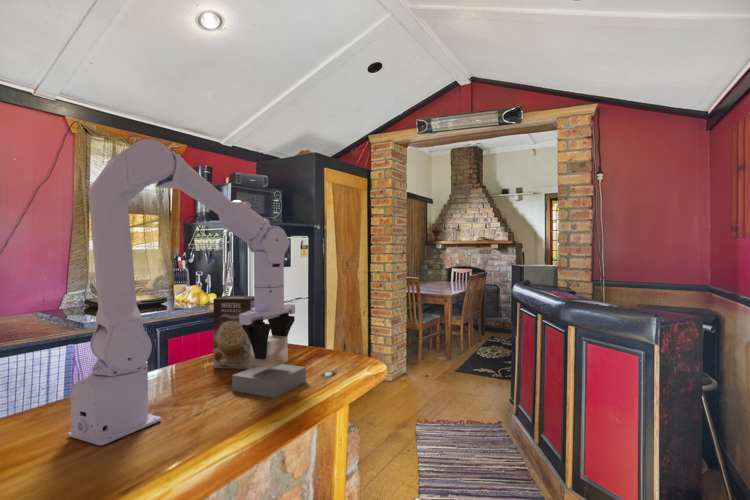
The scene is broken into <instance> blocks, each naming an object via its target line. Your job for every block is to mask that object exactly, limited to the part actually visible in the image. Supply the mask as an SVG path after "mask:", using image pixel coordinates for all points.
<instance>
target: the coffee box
mask: <svg viewBox="0 0 750 500" xmlns="http://www.w3.org/2000/svg"><path fill="white" fill-rule="evenodd" d="M251 308H254V295H223V296H218V297H216V298H213V353H212V354H213V366H212V368H214V369H232V370H233V369H235V370H237V369H238V370H247V369H250V368H252V367H254V366H252V365H251V342H250V340H249V338H248V336H247V334H246V332H245V330H244V329H243V328H242V325H241V324H239V314H242V313H245V312H248V311H250V310H251Z"/></svg>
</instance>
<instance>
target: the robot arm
mask: <svg viewBox="0 0 750 500" xmlns="http://www.w3.org/2000/svg"><path fill="white" fill-rule="evenodd" d="M155 183H156V188H161V189H162V188H163V189H177V190H180V191H181V192H183V193H184V194H185V195H187V196H189V197H190V198H192V199H194V200H195V201H196V202H198V203H200V204H201V205H203V206H204V207H206V208H207V209H209V210H210V211H212V212H214V213H215V214H217V216H218V221H219V224H220V225H221V226H222V227H223V228H225V229H226V230H227V231H228V232H231V233H232V234H234V235H235V236H236V237H238V238H239V239H241V240H242V241H243V242H245V243H246V244H247V247H248V249H249V251H250V252H251V253H253V293H254V294H253V296H254V308H251V310H250V311H248V312H245V313H242V314H239V324H241V325H242V328H243V329H244V330H245V332H246V334H247V336H248V338H249V340H250V342H251V345H252V348H253V352H254V356H255V359H261V360H264V359H266V354H267V341H268V335H270V332H271V335H275V336H285V337H289V334H290V331H291V328H292V326H293V324H294V322H295V315H293V314H296V304H294V303H293V304H291V303H286V304H285V276H284V275H285V272H284V271H285V269H284V267H285V266H284V265H285V261H286V260H285V259H286V258H285V255H286V253H287V251H288V249H289V247H290V243H291V241H290V239H288V235H287V234H286V231H285V230H284V229H283V228H282V227H281V226H278V225H271V223H270V219H268V218H267V217H262V215H260V214H259V213H257V212H256V211H255V210H254V209H252V208H251V207H252V204H251V203H249V201H242V200H240V199H239V200H238V199H235V200H230V199H229V198H228V197H227V196H226V195H224V194H223V193H222V192H221V191H220V190H218V189H217V188H216V187H215V186H214V185H212V183H210V182H209V181H208V180H206V179H205V178H204V177H203V176H202V175H201V174H199V172H197V171H196V170H195V169H193V167H192V166H190V165H189V164H188V162H186V161H185V159H184V158H183V157H182V156H181V155H180V154H178V153H176V152H175V151H171V150H170V148H168V146H167V145H165V144H164V143H163V142H161V141H159V140H156V139H151V138H145V139H140V140H138V141H136V142H135V143H133V144H130V145H129V146H128V147H127V148H125V149H123V150H122V151H121V152H120V153H118V154H117V155H115V156H113V157H111V158H110V159H109V160H108V161H107V163H106V165H105V166H104V167H103V169H102V170H101V172H100V173H99V175H98V176H97V177H96V178H95V180H94V181H93V183H92V184H91V186H90V187H89V189H88V193H87V194H88V204H89V205H88V207H89V218H90V230H91V238H92V239H91V240H92V252H93V261H94V272H95V274H94V275H95V283H96V284H95V285H96V295H97V297H96V298H97V306H98V307H97V308H98V309H97V311H96V314H95V328H94V331H93V333H92V336H91V339H90V342H89V343H90V351H91V352H92V354H93V355H94V356H95V357H96V358H97V359H98V360H97V361H96V362H95V364H94V366H93V367H92V373H90V374H89V376H87V377H85V378H83V379H82V378H81V379H80V380H78V381H76V382H75V383H74V384H73V385H72V388H71V391H70V392H71V393H70V431H69V432H68V433H67V436H68V437H70V438H74V439H77V440H80V441H83V442H87V443H89V444H93V445H96V446H104V445H107V444H109V443H112V442H113V441H116V440H119V439H121V438H124V437H126V436H128V435H131V434H133V433H135V432H137V431H139V430H141V429H144V428H146V427H149V426H151V425H153V424H156V423H158V422H160V421H162V417H161V416H159V415H153V414H150V413H149V375H148V374H149V371H148V370H149V369H148V368H149V366H148V360H149V358H150V356H151V354H152V348H153V345H152V339H151V338H150V336H149V335H148V334H147V332H146V331H145V328H144V322H143V317H142V315H141V312H140V310H139V308H138V303H137V293H136V291H137V290H136V283H135V270H134V259H133V258H134V255H133V243H132V232H131V224H130V223H131V221H130V212H129V211H130V210H129V209H130V208H129V203H130V201H131V200H133V199H134V198H135V197H136V196H137V195H138V194H140V193H141V192H143V190H144V189H145V188H146V187H148V186H151V185H154V184H155ZM265 320H267V321H268V323H266V322H265Z"/></svg>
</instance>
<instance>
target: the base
mask: <svg viewBox="0 0 750 500" xmlns="http://www.w3.org/2000/svg"><path fill="white" fill-rule="evenodd" d="M306 369H307V368H306V367H305V366H300V365H299V366H298V365H291V364H285V363H283V364H281V365H278V366H276V367H274V368H266V367H259V366H253V367H252V368H250V369H244V370H243V371H240V372H237V373H234V374H232V375H231V379H232V381H231V384H232V385H231V389H232V390H231V391H232V392H236V393H242V394H247V395H254V396H260V397H265V398H269V399H276V398H277V397H280V396H282V395H284V394H286V393H288V392H289V391H291V390H293V389H295V388H297V387H298V386H300V385H303V384H305V383H306V382H307V377H306V375H307V372H306V371H307V370H306Z"/></svg>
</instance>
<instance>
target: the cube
mask: <svg viewBox="0 0 750 500" xmlns="http://www.w3.org/2000/svg"><path fill="white" fill-rule="evenodd" d="M288 337H289V336H287V337H285V336H275V335H272V334H269V335H268V341H267V354H266V359H264V360H261V359H255V356H254V352H253V348H252V345H251V365H252V366H253V367H255V366H259V367H266V368H274V367H276V366H278V365H281V364H285V363H288V361H289V358H288V357H289V355H288V354H289V352H288V351H289V350H288V345H289V343H288V342H289V339H288Z"/></svg>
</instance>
